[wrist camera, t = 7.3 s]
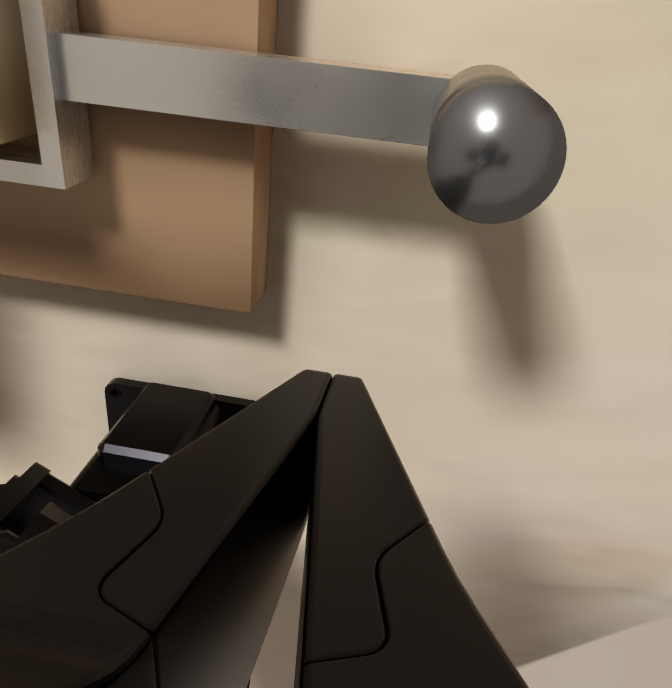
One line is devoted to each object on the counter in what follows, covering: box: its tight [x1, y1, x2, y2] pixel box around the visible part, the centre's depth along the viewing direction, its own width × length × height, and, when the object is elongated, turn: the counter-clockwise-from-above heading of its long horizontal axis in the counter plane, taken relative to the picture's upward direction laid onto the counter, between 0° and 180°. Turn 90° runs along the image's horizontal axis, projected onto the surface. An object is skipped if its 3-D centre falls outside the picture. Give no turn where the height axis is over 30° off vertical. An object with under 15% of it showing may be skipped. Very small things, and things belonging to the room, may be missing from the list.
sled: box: [0, 0, 567, 224], centre depth 14 cm, size 6×18×6 cm, turn 84°
